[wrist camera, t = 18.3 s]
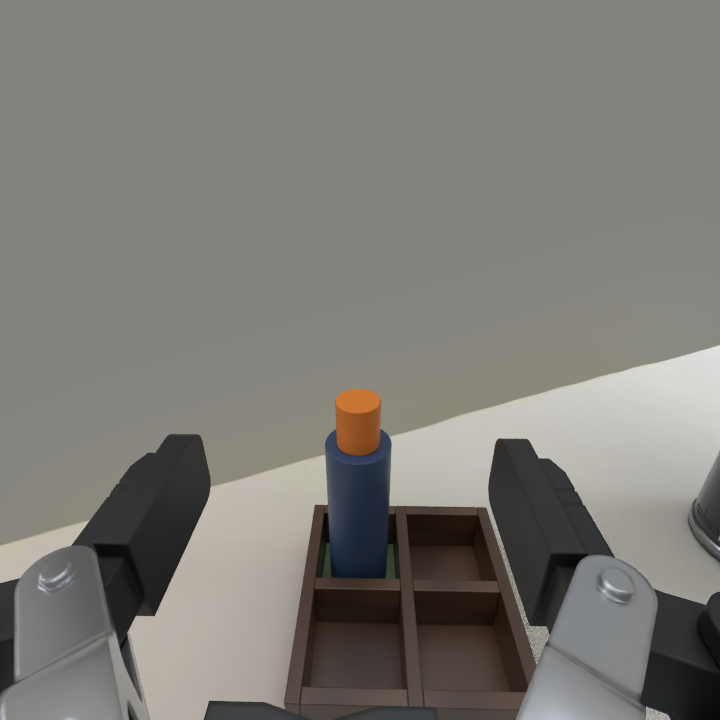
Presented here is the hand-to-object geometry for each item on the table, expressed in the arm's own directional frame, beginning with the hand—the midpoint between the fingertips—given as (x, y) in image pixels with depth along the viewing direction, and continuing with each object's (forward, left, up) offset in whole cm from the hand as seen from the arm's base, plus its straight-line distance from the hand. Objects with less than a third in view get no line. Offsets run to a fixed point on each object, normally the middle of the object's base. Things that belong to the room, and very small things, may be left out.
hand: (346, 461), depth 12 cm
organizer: (-3, -9, -21) cm, 23 cm away
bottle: (0, -12, -20) cm, 23 cm away
